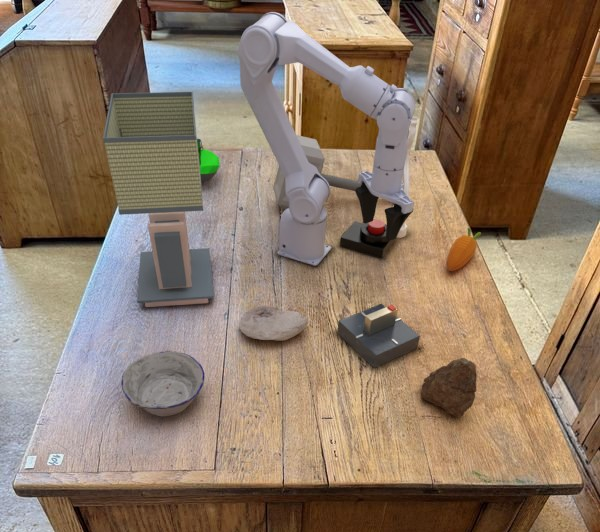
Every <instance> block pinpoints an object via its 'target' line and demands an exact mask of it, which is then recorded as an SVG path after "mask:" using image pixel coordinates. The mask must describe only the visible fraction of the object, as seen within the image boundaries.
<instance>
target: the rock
mask: <svg viewBox="0 0 600 532" xmlns="http://www.w3.org/2000/svg"><path fill="white" fill-rule="evenodd" d="M477 377H478V375H477V369H476V364H475V362H473V361H471V360H469V359H467V358H465V357H459V358H457V359H452V360H451V361H450V362H449V363H448V364H447V365H443V366H440V367H439V368H437V369H435V371H432V372H430V373H429V375H428V376H426V377H425V378H424V379H423V383H422V385H421V391H420V396H421V397H422V398H423V400H425V401H426V402H429V403H433V404H434V406H436V407H437V406H438V407H440V408H442V409H444V411H445V412H446V413H447V414H449V415H451V416H453V417H455V418H456V417H457V418H458V417H459V418H461V417H462V416H464V414H465V413H466V412H467V411H468V410H469V409H471V408H472V406H473V403H474V401H475V399H476V393H477V379H478V378H477Z"/></svg>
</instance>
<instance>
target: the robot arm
mask: <svg viewBox="0 0 600 532" xmlns="http://www.w3.org/2000/svg"><path fill="white" fill-rule="evenodd" d="M236 54H237V56H238V58H239V83H240V88H241V90H242V92H243V95H244V97H245V99H246V100H247V102H248V103H247V104H249V106H250V109H251V111H252V113H253V115H254V117H255V119H256V121H257V123H258V126H259V127H260V129H261V132H262V133H263V135H264V137H265V140H266V142H267V143H268V145H269V147H270V150H271V152H272V153H273V156H274V157H275V159H276V162H277V164H278V167H279V166H280V168H281V170H282V172H283V174H284V176H285V192H286V195H287V197H288V200H289V208H287V209H284V211H283V212H282V214H281V217H280V219H279V224H278V250H277V251H276V254H277V255H278V256H282V257H285V258H288V259H290V260H294V261H297V262H301V263H304V264H307V265H310V266H313V267H314V266H315V267H316V266H318V265H319V264H320V263H321V262H322V260H323V259H324V258H325V257H326V256H327V255H328V253H329V252H330V251H331V250H332V246H330V245H327V244H326V231H327V216H328V212H327V210H326V206H325V204H326V202H327V201H328V199H329V197H330V195H331V186H329V183H328V182H327V180H326V179H325V178H323V177H322V176H321V175H320V173H319V172H318V170H317V168H316V167H315V166H314V165H312V164H310V163H309V162H308V160H307V158H306V155H305V153H304V151H303V149H302V147H301V145H300V142H299V140H298V138H297V136H296V135H297V134H296V131H295V129H294V128H293V125H292V123H291V121H290V118H289V116H288V114H287V112H286V109H285V108H284V104H283V103H282V101H281V99H280V97H279V95H278V92H277V90H276V88H275V86H274V83H273V79H274V75H275V74H276V73H275V72H276V70H277V67H278V66H285V65H291V64H298V63H299V64H301V65H302V66H303V67H306V68H307V69H309V70H310V71H312V72H314V73H315V74H317V75H319V76H321V77H323V78H324V79H325V80H327V81H329V82H331V83H333V84H334V85H336V86H337V87H338V88H339V90H340V94H341V97H342V99H343V100H344V101H346V102H348V103H349V104H350V105H352V106H353V107H355V108H357V109H358V110H359V111H361V112H363V113H364V114H365V115H367V116H368V117H370V118H371V119H373V120H375V121H376V125H377V127H378V132H377V133H378V134H377V137H376V140H375V149H374V157H373V165H372V172H369V170H364V171H361V172H358V176H357V177H358V179H357V181H358V182H359V183H360V184H362V185H361V187H358V188H356V190H355V191H354V192H355V195H356V197H357V199H358V201H359V205H360V210H361V218H362V219H361V220H362V223H365V224H366V223H369V222H372V221H373V219H375V215H376V209H377V205H378V202H379V199H382V200H385V201H388V202H390V203H392V204H393V205H392V206H390V207H387V208H384V215H385V220H386V221H385V222H386V225H387V228H386V240H387V241H391V240H394V239H395V240H396V239H397V238H396V237H397V235H398V233H399V231H400V229H401V227H402V225H403V223H404V222H405V223H406V221H407V219H408V218H409V217H410V215H411V214H412V213H413V212H414V205H415V201H414V200H412V199H411V198H410V196H409V197H408V196H407V194H406V193H405V191H404V190H403V189H402V188H404V184H403V171H404V166H405V160H406V154H407V148H408V138H409V135H410V126H411V123H412V117H414V115H415V110H416V101H415V98H414V97H413V95H412V94H411V92H409V91H408V89H406V88H403V87H398V86H396V85H395V84H393V83H392V84H389V83H387V82H386V81H384V79H383V80H382V79H381V78H380V77H378V76H377V75H376V74H374V72H375V69H374V68H373V67H371V66H370V65H367V66H366V67H364V66H363V65H362V64H360V65H356V66H349V65H347V63H345V62H344V61H342V59H340V58H338V57H337V56H336V55H335V54H333V53H332V52H331V51H329V50H328V49H327V48H326V47H325V46H323V45H322V44H321V43H320V42H318V41H316V40H315V39H314V38H312V37H311V35H309V34H308V33H306V32H305V31H304V30H303V29H302V28H301V27H300V26H299V25H298V24H297V23H296V22H294V21H292V20H290V19H287V17H285V16H284V15H283V14H282V13H279V12H276V11H270V12H266V13H265V14H263V15H262V16H261V17H259V20H258V21H256V22H255V23H253V24H251V25H249V26H248V27H247V28H245V30H244V31H243V33H242V35H241V37H240V40H239V43H238V46H237V48H236Z"/></svg>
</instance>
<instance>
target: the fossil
mask: <svg viewBox="0 0 600 532" xmlns="http://www.w3.org/2000/svg"><path fill="white" fill-rule="evenodd" d="M308 321H309V319H308V317H307V315H304V316H302V314H301V312H299V311H295V310H284V311H282V310H280V309H279V308H277V307H275V306H273V305H259V306H255V307H252V308H251V309H249V310H247V311H245V312H244V314H243V315H242V317H241V318H240V322H239V324H238V329H239V330H240V332H241V333H242V334H243V335H245V336H246V337H248V338H250V339H255V340H261V341H276V342H278V341H287V340H289V339H291V338H294V337H295V336H297V335H299V334H300V333H301V332H302V331H304V330H305V329H306V326H307V325H308V323H309V322H308Z"/></svg>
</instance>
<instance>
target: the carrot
mask: <svg viewBox="0 0 600 532" xmlns="http://www.w3.org/2000/svg"><path fill="white" fill-rule="evenodd" d="M471 234H472V229H471V228H470V227H468V228H467V234H463V235H462V236H460V237H457V238H456V239H455V240H454V242H453V244H452V245H451V247H450V249H449V251H448V255H447V259H446V268H447V270H448V271H450V272H453V271H456V270H458V269H460V268H462V267H464V266H465V265H466V264H467V263H468V262H469V261H470V260H471V259H472V258H473V256H474V255H475V253H476V249H477V246H478V244H477V242H476V241H475V240H477V238H479V237H480V236H481V235H482V233H481V232H480V231H478V232H477V233H476V234H475V235H473V236H471Z"/></svg>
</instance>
